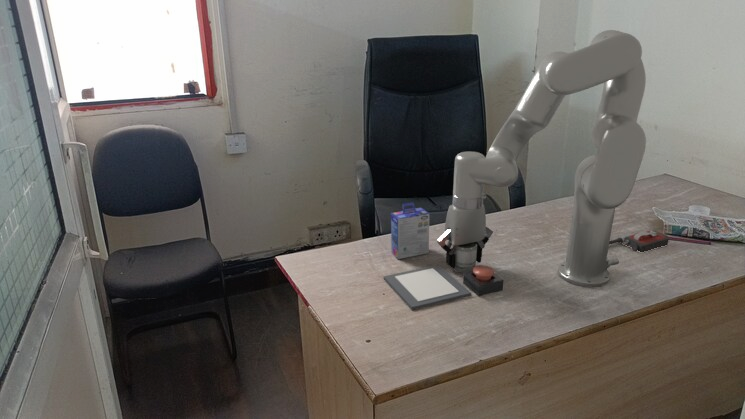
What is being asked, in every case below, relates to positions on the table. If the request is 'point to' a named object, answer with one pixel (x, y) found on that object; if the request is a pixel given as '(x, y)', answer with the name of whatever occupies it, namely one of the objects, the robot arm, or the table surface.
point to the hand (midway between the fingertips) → (463, 262)
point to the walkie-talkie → (642, 240)
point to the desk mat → (426, 287)
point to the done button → (483, 273)
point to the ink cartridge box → (409, 232)
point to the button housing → (483, 284)
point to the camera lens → (465, 257)
